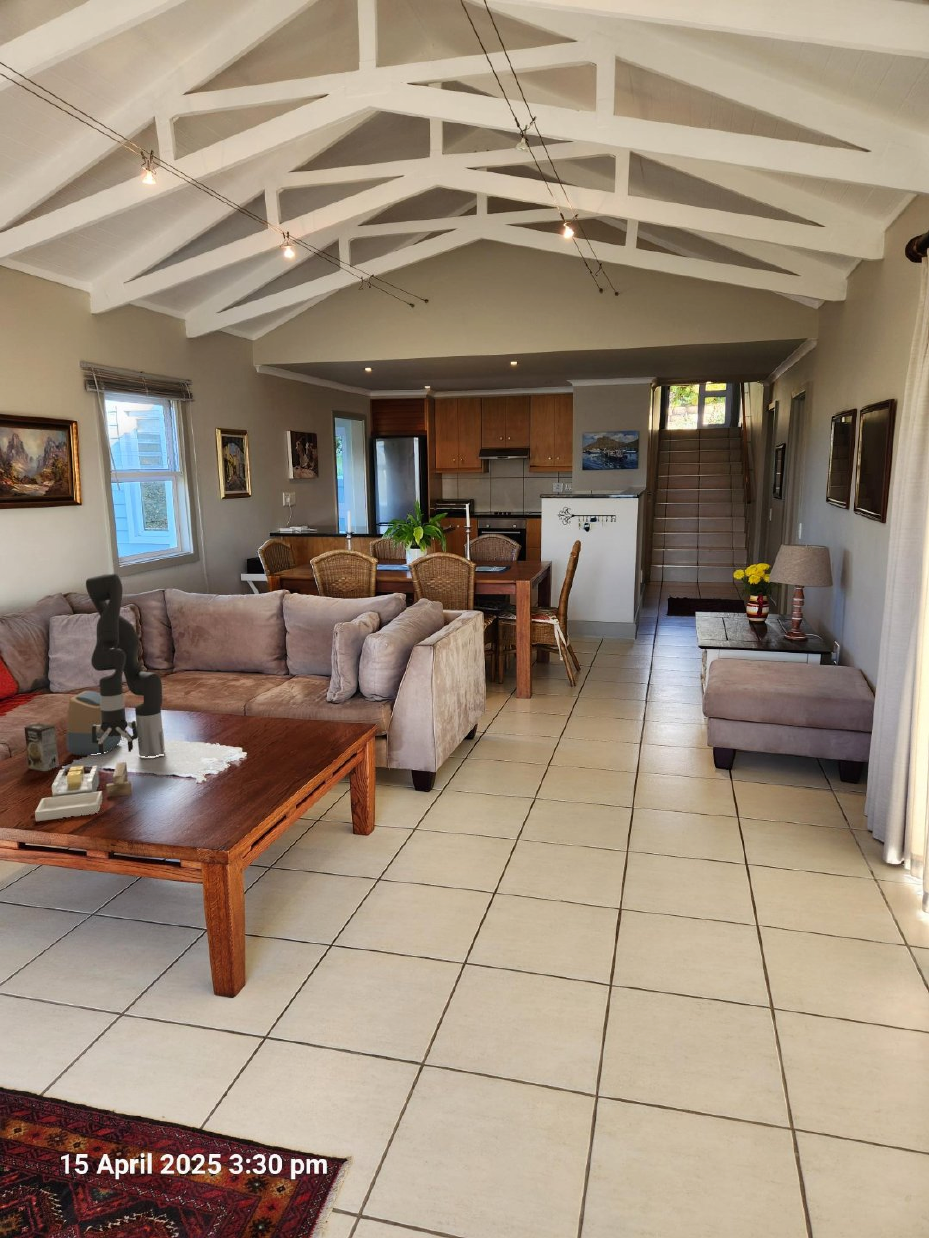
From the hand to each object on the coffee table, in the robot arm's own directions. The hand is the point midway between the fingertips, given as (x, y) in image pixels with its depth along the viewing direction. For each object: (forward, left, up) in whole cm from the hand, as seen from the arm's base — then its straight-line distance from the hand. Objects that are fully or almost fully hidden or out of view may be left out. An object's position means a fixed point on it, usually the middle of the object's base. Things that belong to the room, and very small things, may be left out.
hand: (116, 752), depth 274 cm
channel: (+14, -1, -13) cm, 19 cm away
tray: (+14, +14, -13) cm, 24 cm away
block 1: (+14, -4, -9) cm, 17 cm away
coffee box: (+30, -34, -14) cm, 47 cm away
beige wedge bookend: (0, -1, -13) cm, 13 cm away
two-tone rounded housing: (+14, -49, -14) cm, 53 cm away
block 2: (+14, +1, -9) cm, 17 cm away
